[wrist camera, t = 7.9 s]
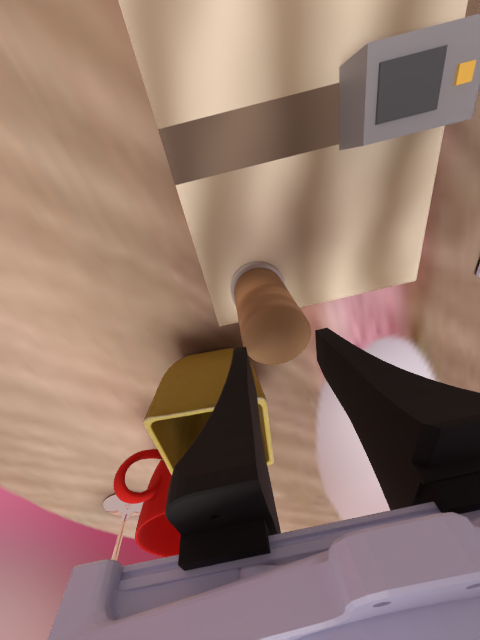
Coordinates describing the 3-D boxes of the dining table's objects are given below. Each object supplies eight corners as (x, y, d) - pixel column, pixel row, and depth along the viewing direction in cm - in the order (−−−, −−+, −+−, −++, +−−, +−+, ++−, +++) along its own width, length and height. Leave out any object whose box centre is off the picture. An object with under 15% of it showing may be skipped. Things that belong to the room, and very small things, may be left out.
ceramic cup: (170, 380, 27) (150, 476, 18) (270, 436, 34) (289, 524, 25) (107, 438, 31) (67, 539, 22) (208, 477, 38) (207, 565, 29)
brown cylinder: (278, 255, 19) (312, 295, 13) (285, 303, 21) (315, 357, 15) (224, 268, 19) (230, 314, 13) (236, 314, 22) (246, 373, 15)
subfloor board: (460, -86, 12) (489, -116, 11) (404, 274, 23) (415, 280, 22) (124, 5, 13) (114, -13, 12) (219, 318, 23) (219, 326, 22)
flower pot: (250, 328, 24) (267, 399, 17) (258, 388, 29) (275, 466, 21) (163, 342, 24) (140, 420, 17) (185, 401, 29) (175, 483, 21)
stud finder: (443, 39, 14) (500, 7, 11) (429, 127, 16) (474, 118, 13) (339, 66, 14) (369, 41, 11) (339, 150, 16) (364, 145, 13)
